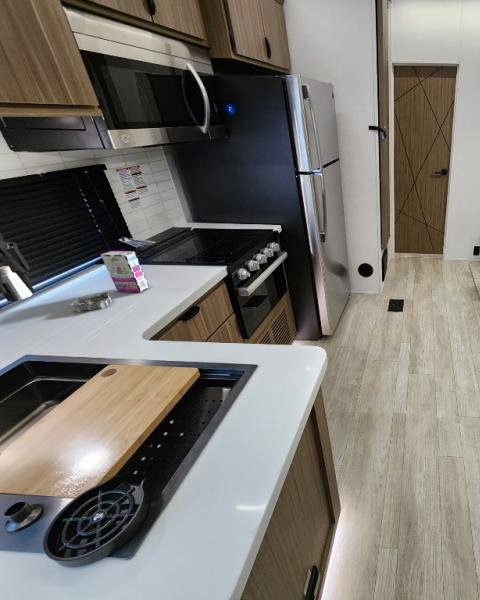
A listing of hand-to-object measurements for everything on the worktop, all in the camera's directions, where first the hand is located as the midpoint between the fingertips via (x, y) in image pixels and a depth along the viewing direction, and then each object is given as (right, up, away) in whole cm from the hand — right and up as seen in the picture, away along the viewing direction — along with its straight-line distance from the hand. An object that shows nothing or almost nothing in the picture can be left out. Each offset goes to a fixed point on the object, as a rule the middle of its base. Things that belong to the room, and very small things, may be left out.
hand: (21, 296), depth 112 cm
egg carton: (+11, -4, +14) cm, 19 cm away
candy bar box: (+17, +3, +27) cm, 32 cm away
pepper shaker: (0, 0, 0) cm, 1 cm away
